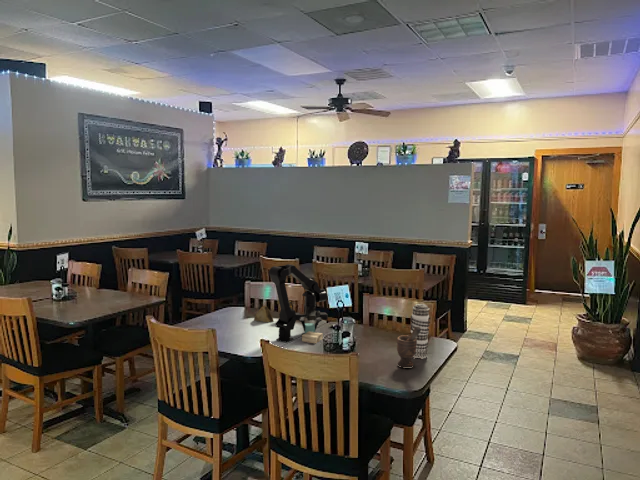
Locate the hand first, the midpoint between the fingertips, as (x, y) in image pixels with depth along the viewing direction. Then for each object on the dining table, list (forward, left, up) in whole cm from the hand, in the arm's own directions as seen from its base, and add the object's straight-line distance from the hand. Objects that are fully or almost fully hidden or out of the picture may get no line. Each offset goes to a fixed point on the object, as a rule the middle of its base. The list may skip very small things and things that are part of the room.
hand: (309, 331), depth 260 cm
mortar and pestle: (-18, -62, -1) cm, 65 cm away
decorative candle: (-1, -61, -1) cm, 61 cm away
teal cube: (0, 0, -1) cm, 1 cm away
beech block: (-9, -7, -1) cm, 11 cm away
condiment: (+13, +23, -1) cm, 26 cm away
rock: (+6, +35, -1) cm, 36 cm away
